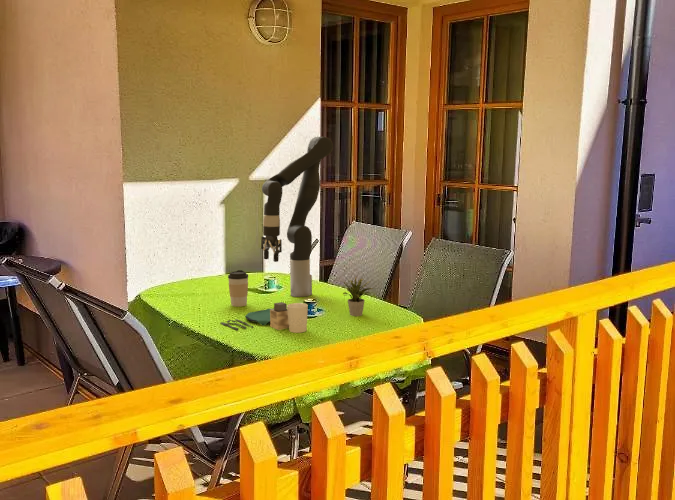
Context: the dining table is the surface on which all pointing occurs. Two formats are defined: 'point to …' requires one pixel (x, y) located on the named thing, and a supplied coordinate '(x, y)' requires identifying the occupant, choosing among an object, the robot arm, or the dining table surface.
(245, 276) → the coffee cup
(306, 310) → the tan cylinder
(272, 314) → the button box
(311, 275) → the robot arm
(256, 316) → the cutlery set
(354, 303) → the house plant
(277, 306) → the button cap
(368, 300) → the dining table surface
